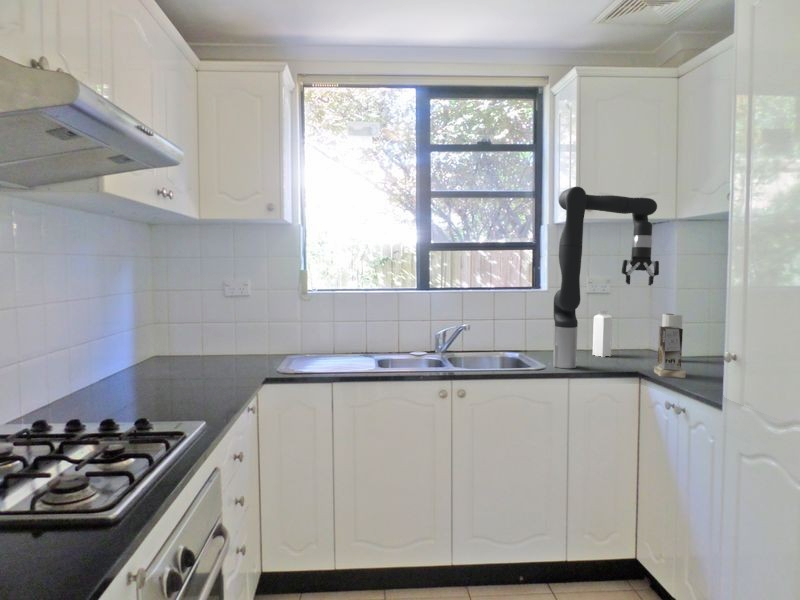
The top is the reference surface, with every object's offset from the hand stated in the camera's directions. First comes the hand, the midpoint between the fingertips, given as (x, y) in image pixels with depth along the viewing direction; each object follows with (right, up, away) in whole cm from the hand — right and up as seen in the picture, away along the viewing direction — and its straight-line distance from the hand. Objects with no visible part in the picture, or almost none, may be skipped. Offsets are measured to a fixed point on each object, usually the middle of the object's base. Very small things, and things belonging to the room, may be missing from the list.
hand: (639, 284), depth 217 cm
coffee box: (+5, -34, -14) cm, 37 cm away
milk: (-5, -34, +28) cm, 44 cm away
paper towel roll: (+21, -34, +16) cm, 43 cm away
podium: (+5, -36, -15) cm, 39 cm away
